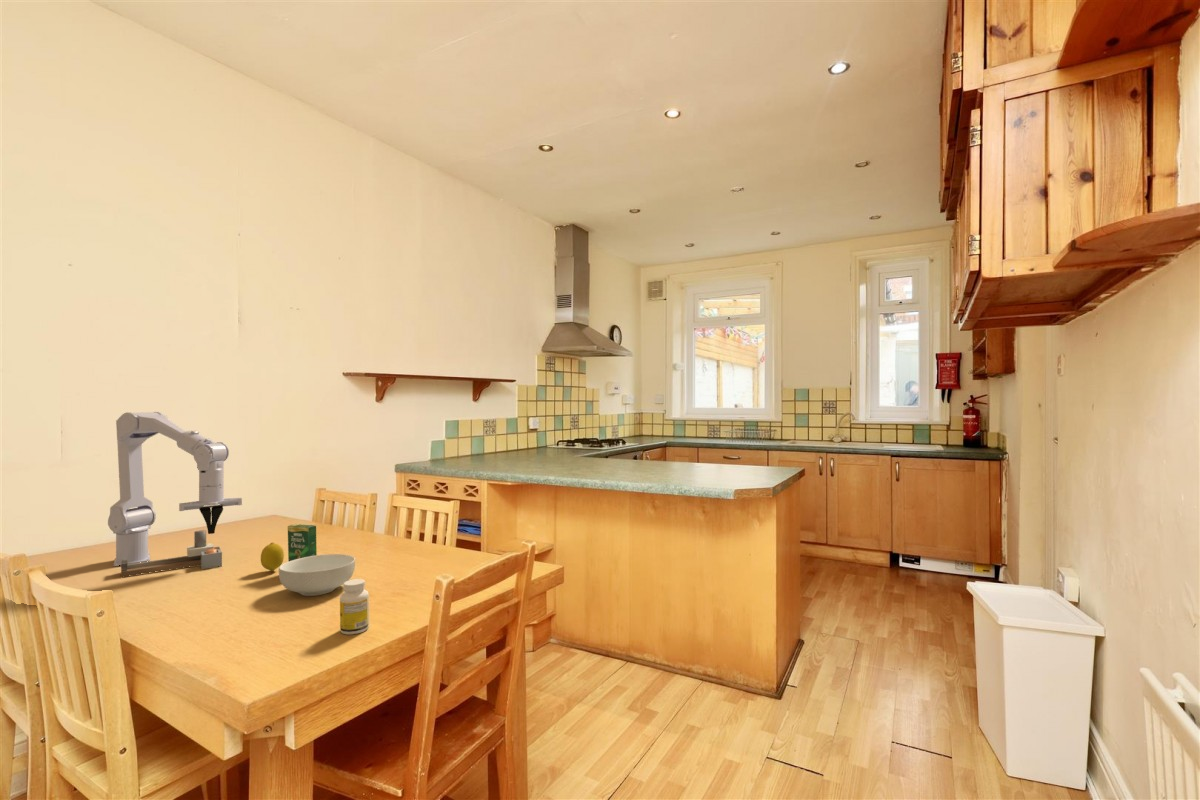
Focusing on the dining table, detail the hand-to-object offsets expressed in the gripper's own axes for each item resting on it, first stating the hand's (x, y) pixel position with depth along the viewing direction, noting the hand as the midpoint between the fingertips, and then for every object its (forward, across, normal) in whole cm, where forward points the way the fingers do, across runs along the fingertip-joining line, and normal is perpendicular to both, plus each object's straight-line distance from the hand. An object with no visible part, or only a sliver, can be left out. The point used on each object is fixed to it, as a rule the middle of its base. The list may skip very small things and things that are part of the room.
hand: (211, 533), depth 157 cm
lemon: (+10, +13, -17) cm, 23 cm away
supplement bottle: (+9, +19, -73) cm, 76 cm away
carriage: (+7, -2, +6) cm, 9 cm away
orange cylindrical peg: (+8, 0, 0) cm, 8 cm away
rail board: (+9, -8, +6) cm, 14 cm away
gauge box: (+9, 0, 0) cm, 9 cm away
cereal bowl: (+10, +19, -42) cm, 47 cm away
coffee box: (+10, +19, -24) cm, 32 cm away
